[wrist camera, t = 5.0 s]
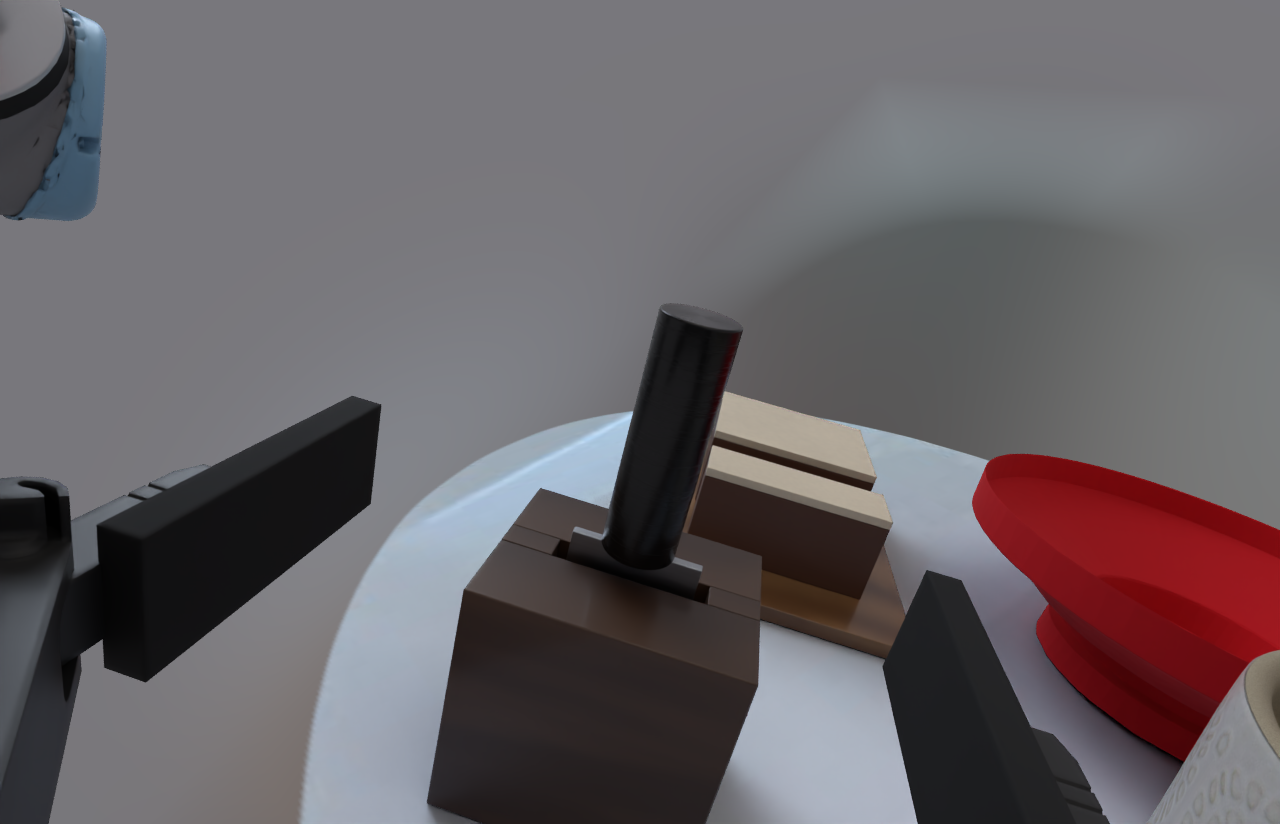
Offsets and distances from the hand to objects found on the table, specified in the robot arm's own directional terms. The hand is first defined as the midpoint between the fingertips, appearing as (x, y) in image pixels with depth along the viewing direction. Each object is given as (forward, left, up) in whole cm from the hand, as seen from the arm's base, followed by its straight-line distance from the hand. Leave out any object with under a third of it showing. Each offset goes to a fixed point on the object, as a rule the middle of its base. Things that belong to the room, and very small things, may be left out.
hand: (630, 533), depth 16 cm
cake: (-15, +36, -15) cm, 42 cm away
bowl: (+12, +44, -16) cm, 48 cm away
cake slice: (-10, +28, -15) cm, 33 cm away
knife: (-5, +7, -15) cm, 17 cm away
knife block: (-5, +7, -16) cm, 18 cm away
